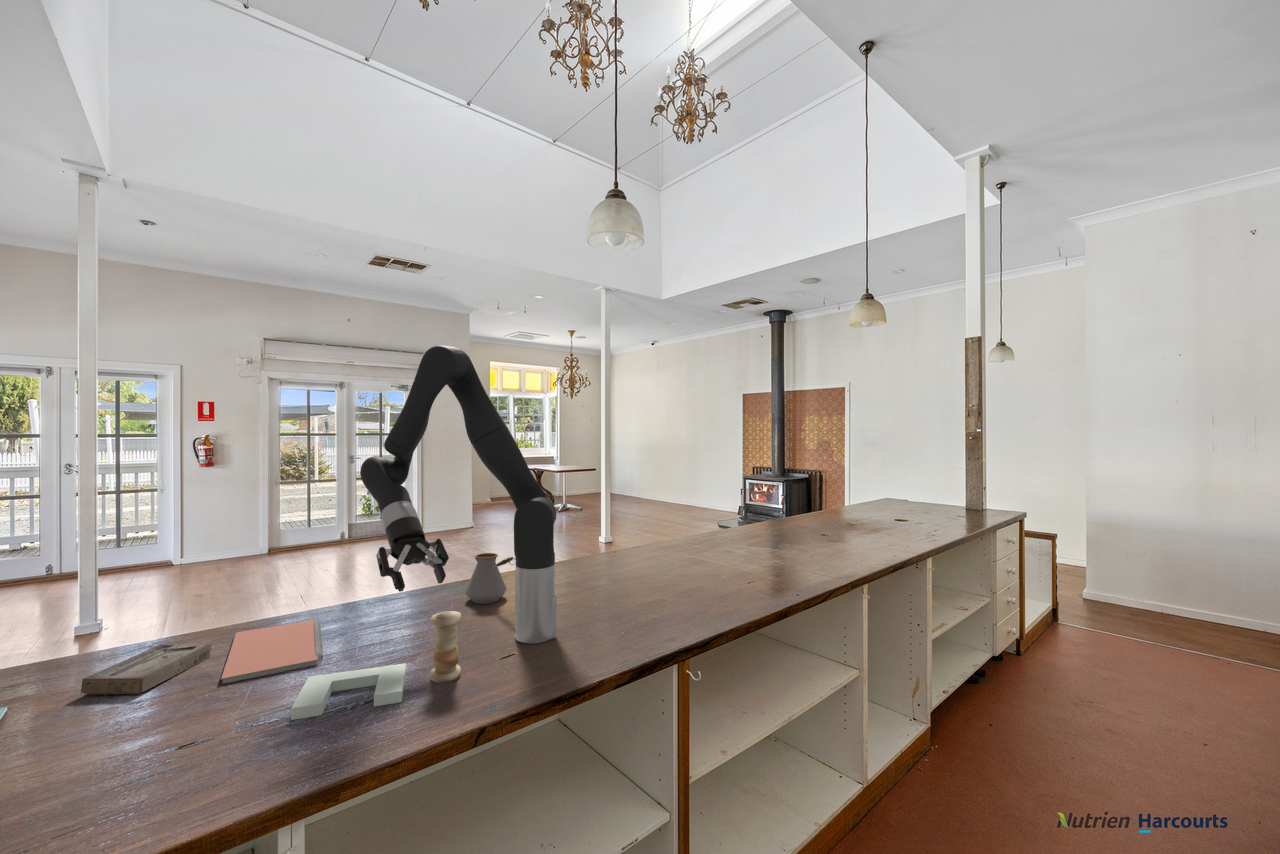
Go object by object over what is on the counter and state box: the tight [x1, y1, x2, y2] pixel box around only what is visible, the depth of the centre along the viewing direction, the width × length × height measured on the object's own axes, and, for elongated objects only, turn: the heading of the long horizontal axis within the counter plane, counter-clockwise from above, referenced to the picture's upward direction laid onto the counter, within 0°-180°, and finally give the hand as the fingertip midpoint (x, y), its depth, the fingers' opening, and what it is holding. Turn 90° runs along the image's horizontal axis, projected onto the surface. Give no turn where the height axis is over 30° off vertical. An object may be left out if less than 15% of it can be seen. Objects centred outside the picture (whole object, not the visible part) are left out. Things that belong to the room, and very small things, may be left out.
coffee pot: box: [465, 552, 516, 605], centre depth 147 cm, size 21×12×15 cm, turn 43°
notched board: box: [290, 662, 407, 721], centre depth 96 cm, size 17×12×2 cm
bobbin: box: [430, 610, 462, 684], centre depth 103 cm, size 6×6×12 cm
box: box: [80, 643, 212, 697], centre depth 103 cm, size 11×17×3 cm, turn 4°
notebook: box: [220, 619, 324, 685], centre depth 115 cm, size 27×17×2 cm, turn 33°
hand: (422, 585), depth 112 cm, fingers open, 8 cm apart
